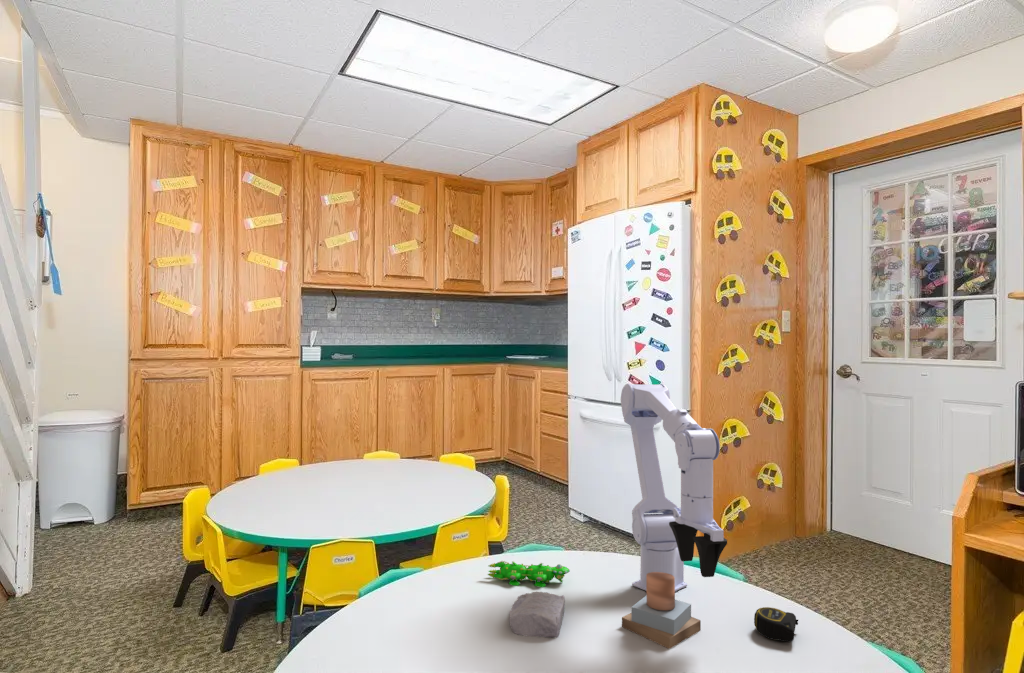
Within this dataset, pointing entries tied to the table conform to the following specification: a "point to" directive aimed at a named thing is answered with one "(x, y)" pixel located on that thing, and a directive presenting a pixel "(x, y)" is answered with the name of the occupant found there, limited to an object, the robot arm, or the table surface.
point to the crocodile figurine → (527, 573)
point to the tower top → (661, 616)
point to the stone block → (537, 614)
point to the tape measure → (775, 623)
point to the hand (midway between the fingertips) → (696, 568)
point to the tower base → (661, 636)
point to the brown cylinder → (660, 590)
